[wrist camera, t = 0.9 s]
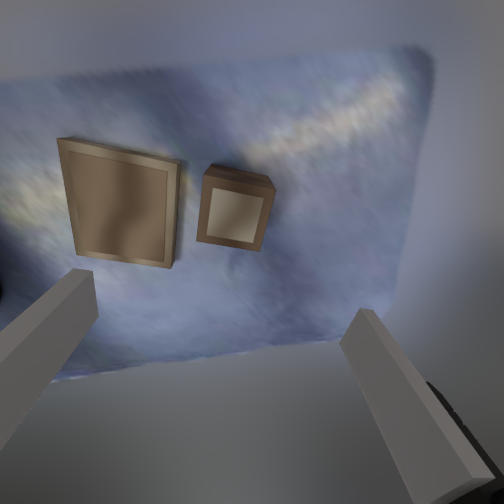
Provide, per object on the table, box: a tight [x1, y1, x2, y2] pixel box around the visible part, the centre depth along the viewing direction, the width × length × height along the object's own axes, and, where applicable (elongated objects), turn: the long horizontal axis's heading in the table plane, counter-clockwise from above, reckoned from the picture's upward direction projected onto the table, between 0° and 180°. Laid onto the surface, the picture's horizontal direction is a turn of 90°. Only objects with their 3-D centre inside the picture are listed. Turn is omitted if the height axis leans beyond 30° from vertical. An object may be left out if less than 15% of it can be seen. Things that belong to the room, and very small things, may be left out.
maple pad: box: [56, 137, 181, 269], centre depth 28 cm, size 12×14×2 cm
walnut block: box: [196, 164, 276, 252], centre depth 26 cm, size 7×7×7 cm
